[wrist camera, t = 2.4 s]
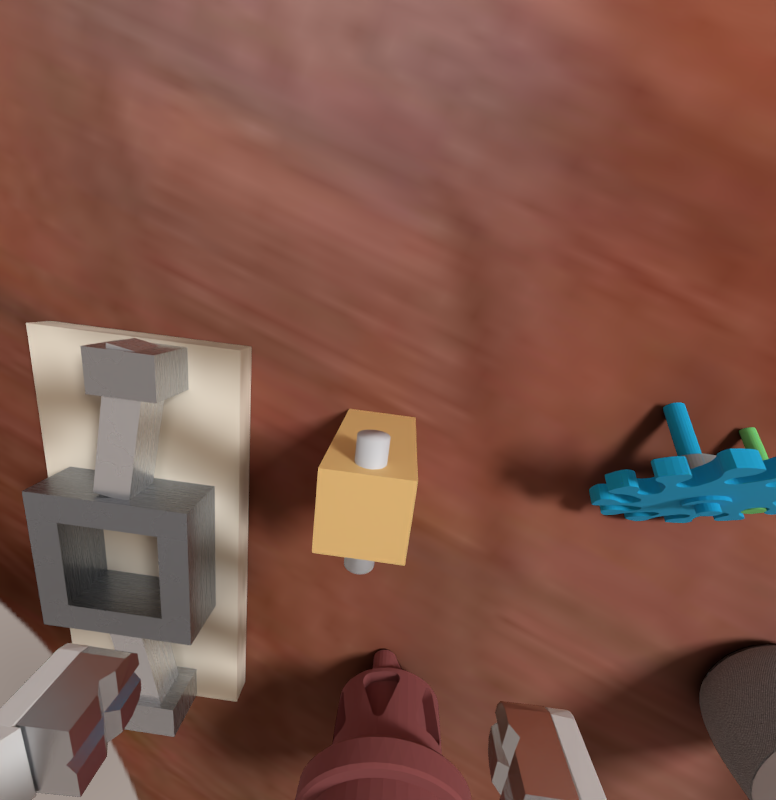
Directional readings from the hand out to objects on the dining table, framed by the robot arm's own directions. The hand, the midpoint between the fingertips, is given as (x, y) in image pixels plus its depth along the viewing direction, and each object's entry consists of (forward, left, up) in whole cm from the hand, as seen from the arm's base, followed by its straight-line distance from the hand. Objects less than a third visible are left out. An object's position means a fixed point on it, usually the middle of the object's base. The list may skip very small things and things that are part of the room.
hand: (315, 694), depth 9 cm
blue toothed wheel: (+1, -17, -16) cm, 23 cm away
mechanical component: (-19, -3, -16) cm, 25 cm away
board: (-8, +14, -15) cm, 22 cm away
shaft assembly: (-8, +14, -14) cm, 21 cm away
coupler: (0, 0, -15) cm, 15 cm away
